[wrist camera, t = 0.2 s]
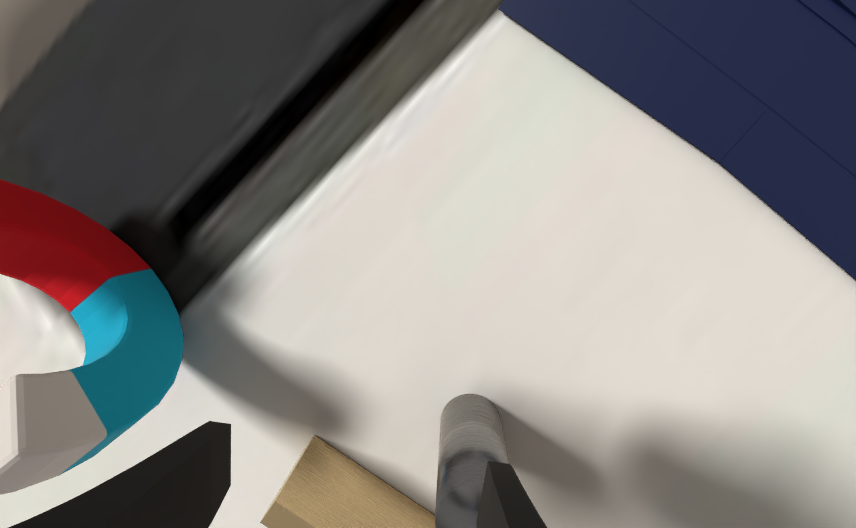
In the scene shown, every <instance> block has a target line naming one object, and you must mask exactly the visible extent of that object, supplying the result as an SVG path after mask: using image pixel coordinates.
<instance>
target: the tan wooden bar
mask: <svg viewBox="0 0 856 528" xmlns="http://www.w3.org/2000/svg"><path fill="white" fill-rule="evenodd" d="M260 523H262V524H263V525H265V526H266V527H268V528H435V516H434V515H433V514H432V513H430V512H429V511H427V510H426V509H424V508H423V507H421V506H420V505H418V504H417V503H415V502H414V501H412V500H411V499H409V498H408V497H406V496H405V495H403V494H402V493H400V492H399V491H397V490H396V489H394V488H393V487H391V486H390V485H388V484H387V483H385V482H384V481H382V480H381V479H379V478H378V477H376V476H375V475H373V474H372V473H370V472H369V471H367V470H366V469H364V468H363V467H361V466H360V465H358V464H357V463H355V462H354V461H352V460H351V459H349V458H348V457H346V456H345V455H343V454H342V453H340V452H339V451H337V450H336V449H334V448H333V447H331V446H330V445H328V444H327V443H325V442H324V441H322V440H321V439H319V438H318V437H316V436H315V435H314V436H313V438H312V439H311V441H310V442H309V444H308V445H307V446H306V448H305V449H304V451H303V452H302V454H301V455H300V457H299V459H298V460H297V462H296V464H295V465H294V467H293V469H292V470H291V472H290V474H289V475H288V477H287V479H286V480H285V482H284V484H283V485H282V487H281V489H280V490H279V492H278V494H277V495H276V497H275V499H274V500H273V502H272V504H271V505H270V507H269V508H268V510H267V512H266V513H265V515H264V517H263V518H262V520H261V522H260Z"/></svg>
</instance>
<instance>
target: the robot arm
mask: <svg viewBox="0 0 856 528" xmlns="http://www.w3.org/2000/svg"><path fill="white" fill-rule="evenodd" d="M230 485H231V424H226V423H219V422H212V421H209V422H207V423H205V424H203V425H202V426H200V427H198V428H197V429H195V430H193V431H191V432H190V433H188V434H187V435H185V436H183V437H182V438H180V439H178V440H177V441H175V442H173V443H172V444H170V445H168V446H167V447H165V448H163V449H162V450H160V451H158V452H157V453H155V454H153V455H152V456H150V457H148V458H147V459H145V460H143V461H142V462H140V463H138V464H136V465H135V466H133V467H131V468H129V469H127V470H126V471H124V472H122V473H120V474H118V475H117V476H115V477H113V478H111V479H109V480H107V481H106V482H104V483H102V484H100V485H98V486H96V487H95V488H93V489H91V490H89V491H87V492H85V493H83V494H81V495H79V496H77V497H75V498H73V499H71V500H69V501H67V502H65V503H63V504H61V505H59V506H56V507H54V508H52V509H50V510H48V511H46V512H44V513H41V514H39V515H37V516H35V517H33V518H30V519H28V520H26V521H23V522H21V523H18V524H16V525H14V526H11V527H9V528H208V527H209V525H210V524H211V522H212V520H213V519H214V517H215V515H216V513H217V511H218V509H219V507H220V505H221V503H222V501H223V499H224V497H225V495H226V493H227V491H228V489H229V487H230ZM476 525H477V528H547V527H546V525H545V523H544V522H543V520H542V519H541V517H540V515H539V514H538V512H537V511H536V509H535V507H534V505H533V504H532V502H531V500H530V498H529V497H528V495H527V493H526V491H525V490H524V488H523V486H522V484H521V482H520V480H519V479H518V477H517V475H516V473H515V471H514V469H513V467H512V466H511V465H510V464H507V463H500V462H493V461H488V463H487V468H486V473H485V479H484V484H483V489H482V494H481V500H480V505H479V510H478V515H477V521H476Z"/></svg>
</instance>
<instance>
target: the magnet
mask: <svg viewBox="0 0 856 528" xmlns="http://www.w3.org/2000/svg"><path fill="white" fill-rule="evenodd" d="M0 274H2V275H5V276H9V277H12V278H15V279H18V280H21V281H23V282H25V283H28V284H30V285H32V286H34V287H36V288H38V289H40V290H42V291H43V292H45V293H46V294H48V295H49V296H51V297H52V298H54V299H55V300H57V301H58V302H59V303H60V304H61V305H62V306H63V307H64V308H66V309H67V310H68V311H69V312H70V313H71V315H72V316H73V318H74V319H75V321H76V322H77V323H78V325H79V326H80V329H81V332H82V334H83V337H84V340H85V350H86V355H85V359H84V363H83V366H80V367H77V368H74V369H70V370H66V371H59V372H52V373H45V374H19V375H16V376H13V377H11V378H10V379H9V380H8V381H7V382H6V383H4V384H3V385H2V386H1V387H0V495H1V494H5V493H10V492H15V491H17V490H20V489H23V488H26V487H28V486H31V485H34V484H37V483H39V482H42V481H45V480H48V479H50V478H53V477H56V476H59V475H61V474H62V473H64V472H66V471H68V470H70V469H72V468H73V467H75V466H77V465H79V464H81V463H83V462H84V461H86V460H88V459H90V458H92V457H93V456H95V455H96V454H97V453H98V452H100V451H101V450H102V449H103V448H105V447H106V446H107V445H109V444H110V443H111V442H112V441H114V440H115V439H116V438H117V437H119V436H120V435H121V434H122V433H124V432H125V431H126V430H127V429H129V428H130V427H131V426H132V425H134V424H135V423H136V422H137V421H139V420H140V419H141V418H142V417H143V416H145V415H146V414H147V413H148V412H149V411H151V410H152V409H153V408H154V407H155V406H157V405H158V404H159V403H160V401H161V400H162V399H163V397H164V396H165V394H166V393H167V391H168V390H169V389H170V387H171V386H172V384H173V383H174V381H175V378H176V375H177V372H178V370H179V367H180V364H181V361H182V355H183V332H182V328H181V324H180V319H179V315H178V312H177V310H176V308H175V306H174V304H173V301H172V299H171V297H170V295H169V293H168V291H167V289H166V288H165V287H164V285H163V284H162V282H161V281H160V280H159V278H158V277H157V275H156V274H155V273H154V271H153V270H152V268H151V267H150V266H149V265H148V264H147V263H146V262H145V261H144V260H143V259H142V258H141V257H140V256H139V255H138V254H137V253H136V252H135V251H134V250H133V249H132V248H131V247H130V246H128V245H127V244H126V243H124V242H123V241H122V240H121V239H119V238H118V237H117V236H115V235H114V234H113V233H112V232H110V231H109V230H108V229H107V228H105V227H104V226H102V225H100V224H99V223H97V222H95V221H94V220H92V219H90V218H89V217H87V216H86V215H84V214H82V213H81V212H79V211H77V210H76V209H74V208H72V207H69V206H67V205H65V204H63V203H61V202H59V201H57V200H54V199H52V198H50V197H48V196H46V195H44V194H42V193H39V192H36V191H33V190H30V189H27V188H24V187H21V186H18V185H15V184H13V183H10V182H7V181H4V180H0Z"/></svg>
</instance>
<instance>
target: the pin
mask: <svg viewBox="0 0 856 528" xmlns="http://www.w3.org/2000/svg"><path fill="white" fill-rule="evenodd" d="M488 461H493V462H500V463H507V464H510V463H509V459H508V454H507V450H506V445H505V440H504V436H503V431H502V426H501V422H500V417H499V413H498V411H497V409H496V407H495V406H494V405H493V404H492V403H491V402H490V401H489V400H488V399H486V398H484V397H482V396H479V395H475V394H464V395H460V396H458V397H456V398H454V399H452V400H451V401H450V402H449V403H448V404H447V405H446V406H445V408H444V410H443V412H442V415H441V425H440V443H439V460H438V478H437V495H436V513H435V528H477V525H476V521H477V515H478V510H479V505H480V500H481V494H482V489H483V484H484V479H485V473H486V468H487V463H488Z"/></svg>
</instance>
